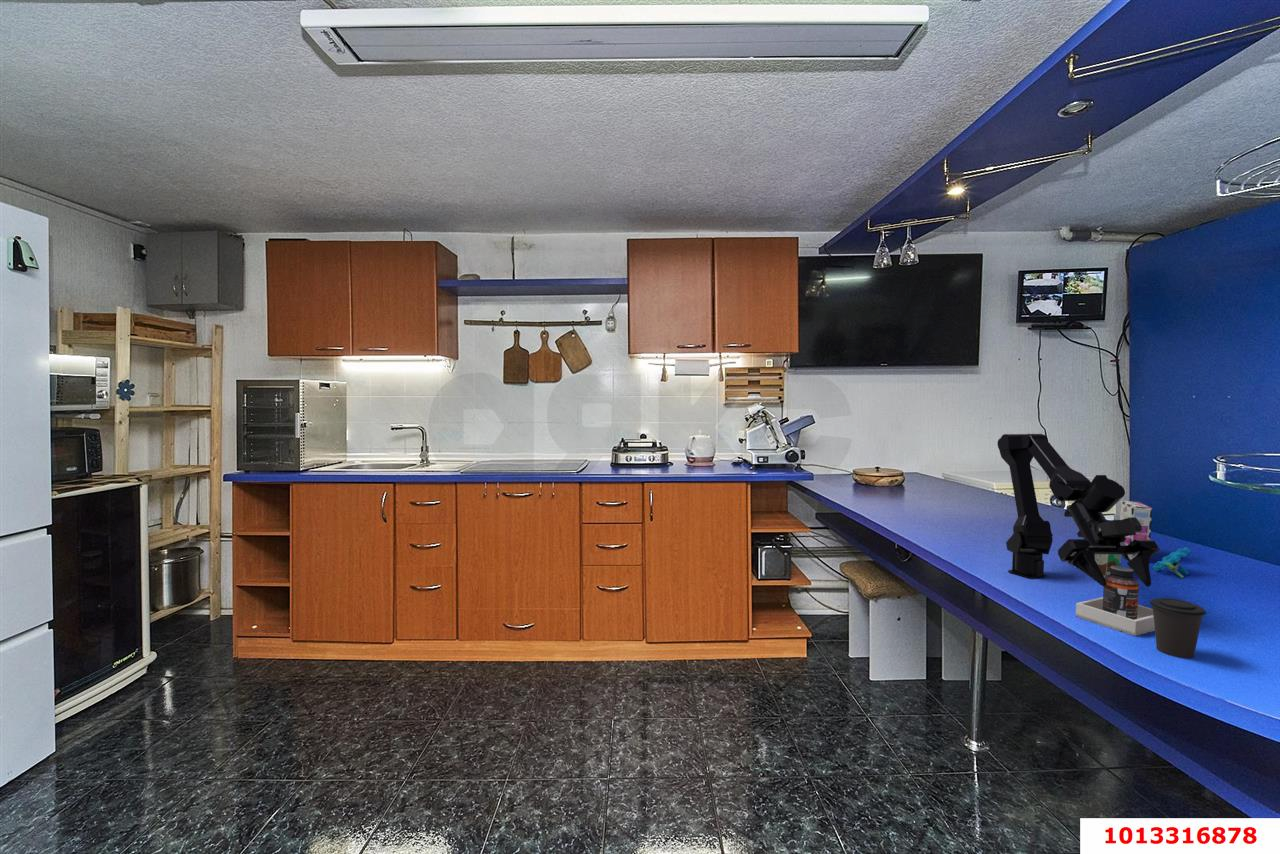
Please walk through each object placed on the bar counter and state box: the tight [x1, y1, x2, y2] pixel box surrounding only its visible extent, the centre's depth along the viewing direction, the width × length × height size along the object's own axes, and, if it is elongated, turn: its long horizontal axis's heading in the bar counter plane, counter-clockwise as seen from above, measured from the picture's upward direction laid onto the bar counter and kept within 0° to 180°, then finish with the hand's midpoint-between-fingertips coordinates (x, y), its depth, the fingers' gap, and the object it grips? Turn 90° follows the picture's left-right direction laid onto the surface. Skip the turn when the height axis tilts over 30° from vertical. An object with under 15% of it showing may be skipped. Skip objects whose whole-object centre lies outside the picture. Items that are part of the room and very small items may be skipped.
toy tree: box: [1151, 546, 1191, 579], centre depth 160 cm, size 11×6×10 cm
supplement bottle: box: [1102, 565, 1140, 620], centre depth 127 cm, size 6×6×11 cm
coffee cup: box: [1149, 597, 1207, 659], centre depth 112 cm, size 8×8×10 cm
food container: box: [1095, 542, 1126, 578], centre depth 161 cm, size 12×6×10 cm, turn 168°
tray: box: [1075, 596, 1155, 637], centre depth 127 cm, size 11×11×3 cm
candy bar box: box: [1119, 500, 1153, 556], centre depth 175 cm, size 11×5×16 cm, turn 155°
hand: (1126, 585), depth 125 cm, fingers open, 9 cm apart
